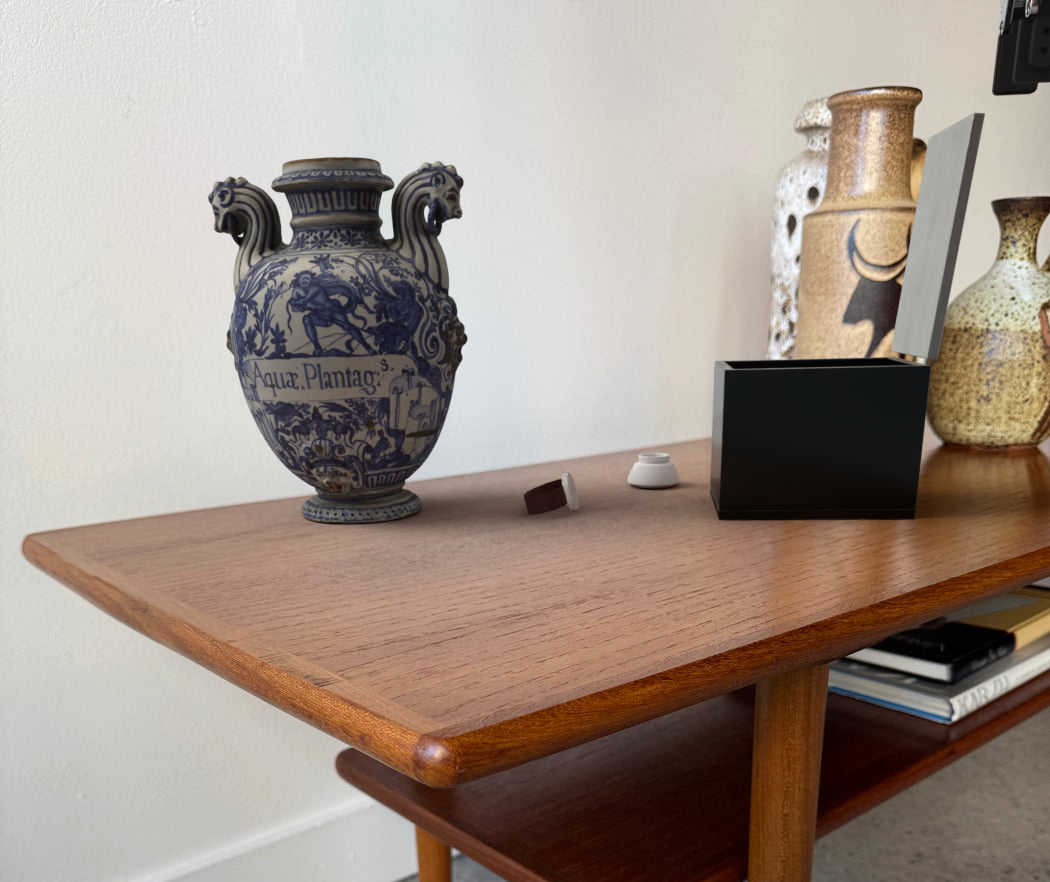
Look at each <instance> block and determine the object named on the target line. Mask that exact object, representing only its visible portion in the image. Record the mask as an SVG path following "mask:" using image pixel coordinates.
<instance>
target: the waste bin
mask: <svg viewBox="0 0 1050 882" xmlns="http://www.w3.org/2000/svg"><path fill="white" fill-rule="evenodd" d="M713 369H714V372H713V374H714V375H713V394H712V395H713V397H712V399H713V400H712V422H711V423H712V425H711V426H712V427H711V455H710V478H709V479H710V483H709V494H710V497H711V500H712V504H713V507H714V509H715V512H716V515H717V519H718V521H768V520H769V521H773V520H774V521H783V520H785V521H787V520H791V521H792V520H793V521H795V520H799V521H800V520H801V521H802V520H803V521H805V520H915V519H916V514H917V513H916V511H917V502H918V493H919V492H918V491H919V485H920V484H919V483H920V476H921V475H920V474H921V465H922V457H923V456H922V455H923V445H924V437H925V428H926V420H927V410H928V409H927V408H928V398H929V391H930V382H931V381H930V380H931V371H932V365H930V364H925V363H921V362H917V361H912V360H909V359H905V358H904V359H903V358H902V357H901V358H900V357H897V356H896V357H895V356H877V357H874V356H873V357H834V358H833V357H831V358H826V357H825V358H785V359H747V360H745V359H743V360H742V359H741V360H740V359H739V360H714V368H713Z"/></svg>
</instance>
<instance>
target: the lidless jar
mask: <svg viewBox="0 0 1050 882" xmlns="http://www.w3.org/2000/svg"><path fill="white" fill-rule="evenodd" d="M637 459H638V461H636V462H634V463H633V466H632V467H631V470H630V472H629V474H628V477H627V483H628V484H631V485H632V486H634V487H637V488H640V489H641V488H642V489H664V488H669V487H672V486H674V485H676V484H679V483H680V474H679V473H678V470H677V468H676V465H675V463H674V462H673V461H671V454H669V453H666V452H644V453H639V454H638V456H637Z"/></svg>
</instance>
